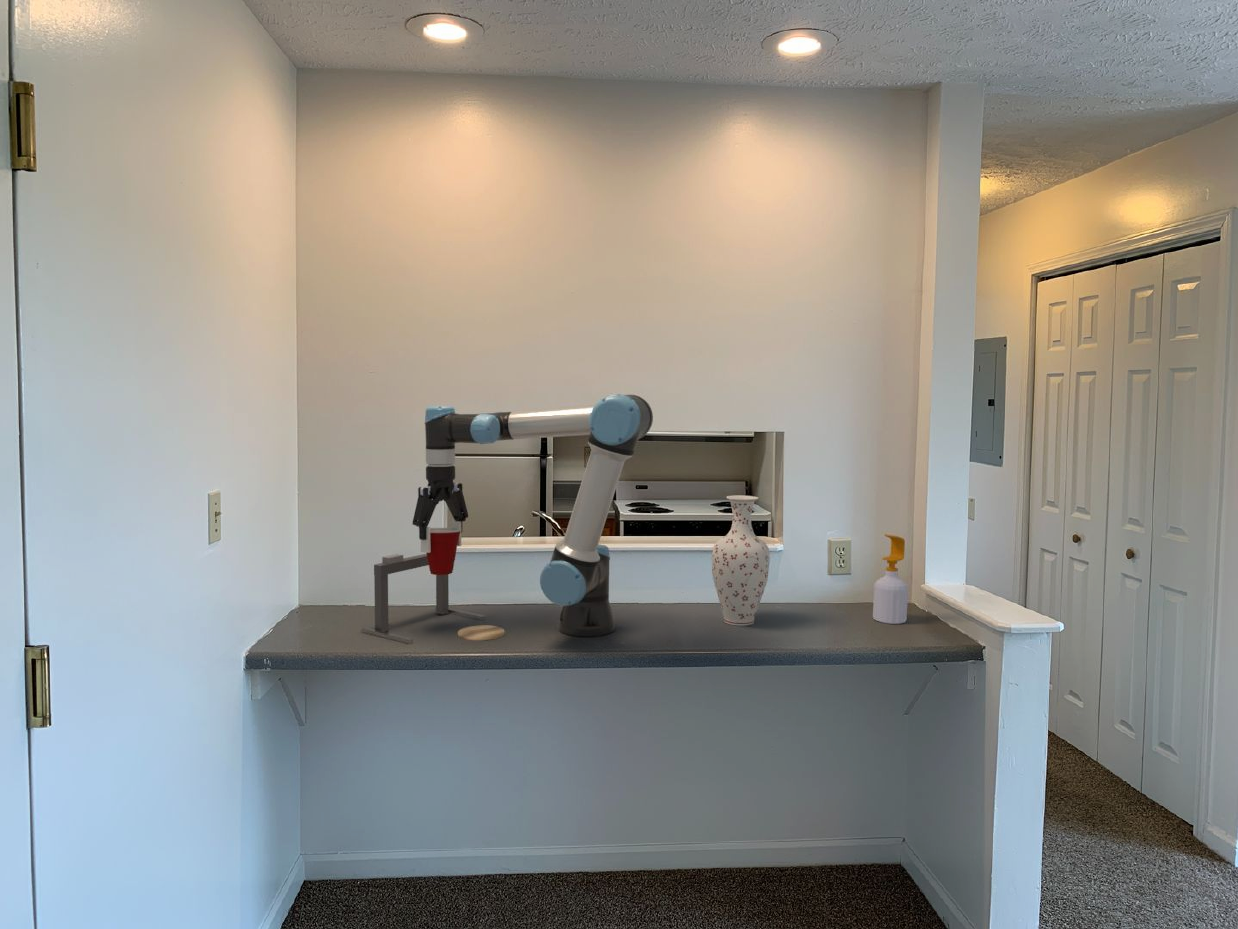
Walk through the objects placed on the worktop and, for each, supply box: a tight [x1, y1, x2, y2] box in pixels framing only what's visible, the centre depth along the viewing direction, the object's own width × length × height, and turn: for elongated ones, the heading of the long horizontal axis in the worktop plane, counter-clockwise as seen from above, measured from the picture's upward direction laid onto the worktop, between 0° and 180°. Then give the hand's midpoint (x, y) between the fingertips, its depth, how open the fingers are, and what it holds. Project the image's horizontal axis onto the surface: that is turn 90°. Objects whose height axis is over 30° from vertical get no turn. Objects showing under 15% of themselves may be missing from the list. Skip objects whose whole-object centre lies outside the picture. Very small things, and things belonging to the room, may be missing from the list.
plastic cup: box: [425, 527, 463, 576], centre depth 226 cm, size 11×11×12 cm
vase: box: [711, 494, 771, 627], centre depth 238 cm, size 16×16×35 cm
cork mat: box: [457, 624, 505, 642], centre depth 224 cm, size 12×12×1 cm
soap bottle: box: [872, 533, 909, 625], centre depth 242 cm, size 9×9×25 cm
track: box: [360, 607, 486, 645], centre depth 231 cm, size 18×28×1 cm, turn 147°
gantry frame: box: [373, 553, 450, 632], centre depth 232 cm, size 3×24×19 cm, turn 147°
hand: (441, 548), depth 226 cm, fingers closed on plastic cup, 11 cm apart
